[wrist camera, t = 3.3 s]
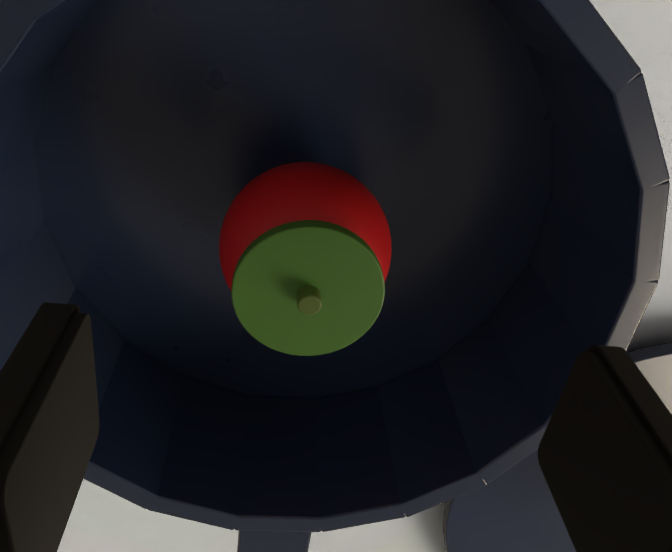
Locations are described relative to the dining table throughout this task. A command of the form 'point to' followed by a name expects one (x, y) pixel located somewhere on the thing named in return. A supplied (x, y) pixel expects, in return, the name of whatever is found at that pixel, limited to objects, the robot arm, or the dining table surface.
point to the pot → (396, 202)
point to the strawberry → (305, 258)
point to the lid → (531, 491)
